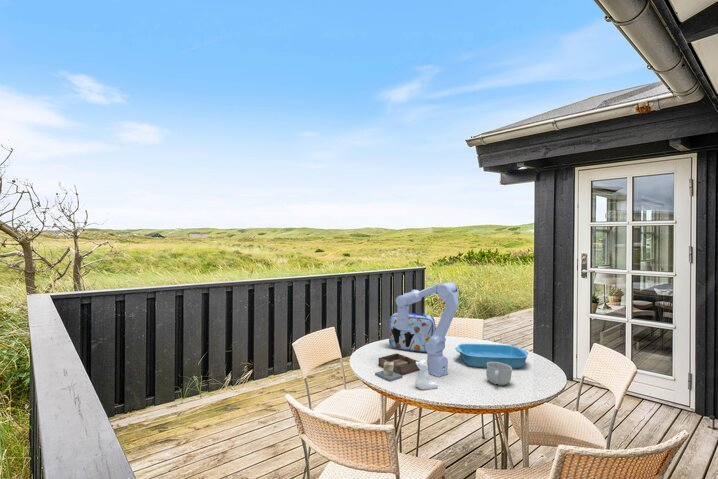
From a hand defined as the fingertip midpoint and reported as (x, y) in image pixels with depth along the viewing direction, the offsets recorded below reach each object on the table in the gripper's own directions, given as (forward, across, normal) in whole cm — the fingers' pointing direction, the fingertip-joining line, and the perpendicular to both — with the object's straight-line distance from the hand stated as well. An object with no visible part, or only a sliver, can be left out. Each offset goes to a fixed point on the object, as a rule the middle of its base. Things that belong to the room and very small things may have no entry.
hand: (402, 345), depth 190 cm
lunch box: (+10, +13, -22) cm, 27 cm away
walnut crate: (+9, -4, +6) cm, 12 cm away
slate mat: (+9, -9, +18) cm, 22 cm away
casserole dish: (+10, -26, -40) cm, 49 cm away
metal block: (+8, -9, +18) cm, 22 cm away
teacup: (+10, -44, -16) cm, 48 cm away
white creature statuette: (+10, -27, +14) cm, 32 cm away
